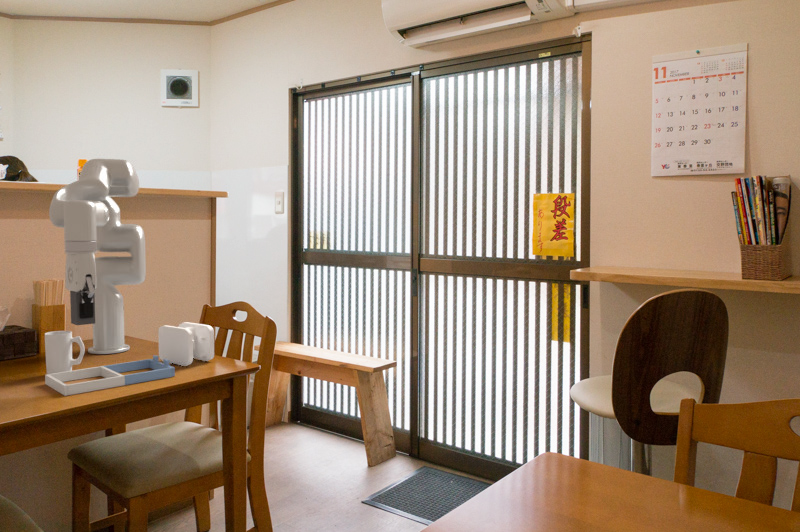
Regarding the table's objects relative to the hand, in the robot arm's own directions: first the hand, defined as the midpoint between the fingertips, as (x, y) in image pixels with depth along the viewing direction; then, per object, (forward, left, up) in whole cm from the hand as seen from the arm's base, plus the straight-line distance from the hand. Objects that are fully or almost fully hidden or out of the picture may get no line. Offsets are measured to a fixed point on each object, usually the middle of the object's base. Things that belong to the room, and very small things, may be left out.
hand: (83, 316), depth 162 cm
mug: (-15, 0, -19) cm, 24 cm away
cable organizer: (-7, +32, -19) cm, 38 cm away
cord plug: (0, 0, -2) cm, 2 cm away
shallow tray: (0, +7, -18) cm, 20 cm away
